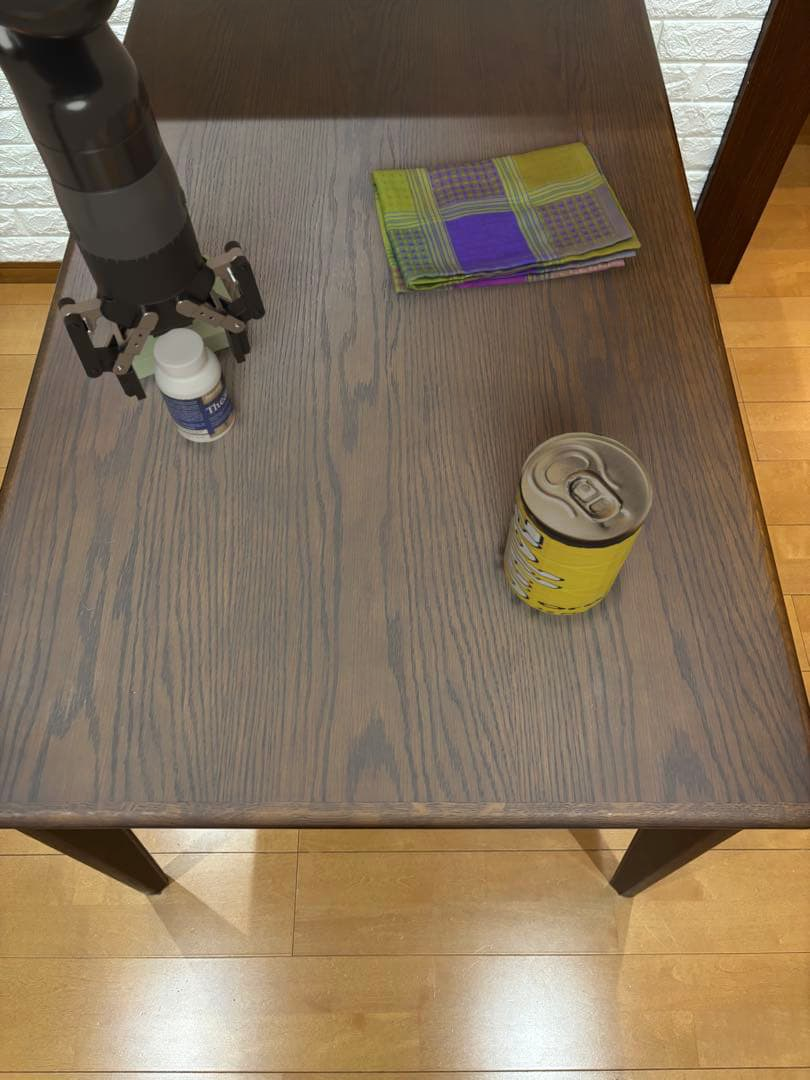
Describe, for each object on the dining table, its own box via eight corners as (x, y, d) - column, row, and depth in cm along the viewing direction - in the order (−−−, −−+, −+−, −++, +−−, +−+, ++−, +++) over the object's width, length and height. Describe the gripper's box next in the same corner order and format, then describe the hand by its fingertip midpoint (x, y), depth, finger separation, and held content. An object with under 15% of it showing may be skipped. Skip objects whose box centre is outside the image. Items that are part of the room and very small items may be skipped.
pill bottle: (228, 448, 72) (202, 377, 63) (168, 440, 73) (135, 369, 64) (243, 399, 74) (220, 324, 66) (185, 392, 75) (155, 317, 66)
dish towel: (368, 181, 87) (367, 159, 85) (591, 152, 89) (596, 129, 87) (396, 304, 79) (395, 283, 77) (640, 269, 81) (647, 248, 79)
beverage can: (558, 495, 69) (583, 410, 59) (638, 568, 66) (680, 492, 56) (480, 558, 67) (491, 481, 56) (559, 637, 64) (587, 571, 53)
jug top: (135, 380, 76) (122, 352, 72) (105, 306, 80) (91, 276, 76) (248, 340, 78) (240, 310, 74) (213, 269, 82) (203, 238, 78)
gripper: (212, 146, 56) (254, 313, 71) (5, 211, 54) (92, 371, 68) (251, 216, 53) (286, 376, 68) (33, 288, 50) (118, 439, 65)
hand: (189, 373), depth 68 cm, fingers open, 8 cm apart
